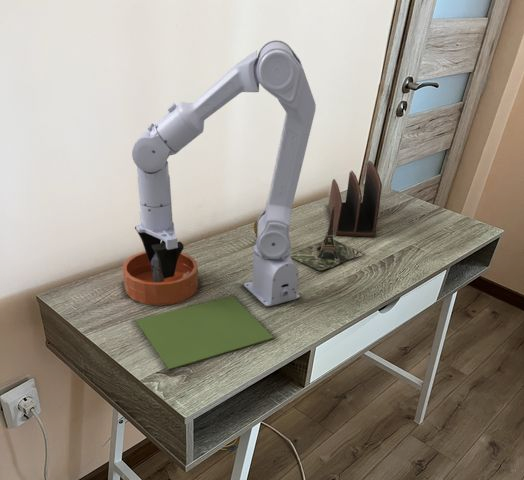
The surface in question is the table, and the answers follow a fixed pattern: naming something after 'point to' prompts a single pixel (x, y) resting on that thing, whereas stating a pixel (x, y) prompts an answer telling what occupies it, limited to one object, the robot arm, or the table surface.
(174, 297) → the pot
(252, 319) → the cloth
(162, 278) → the mini dv tape
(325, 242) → the eiffel tower figurine
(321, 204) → the table surface
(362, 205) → the letter holder
